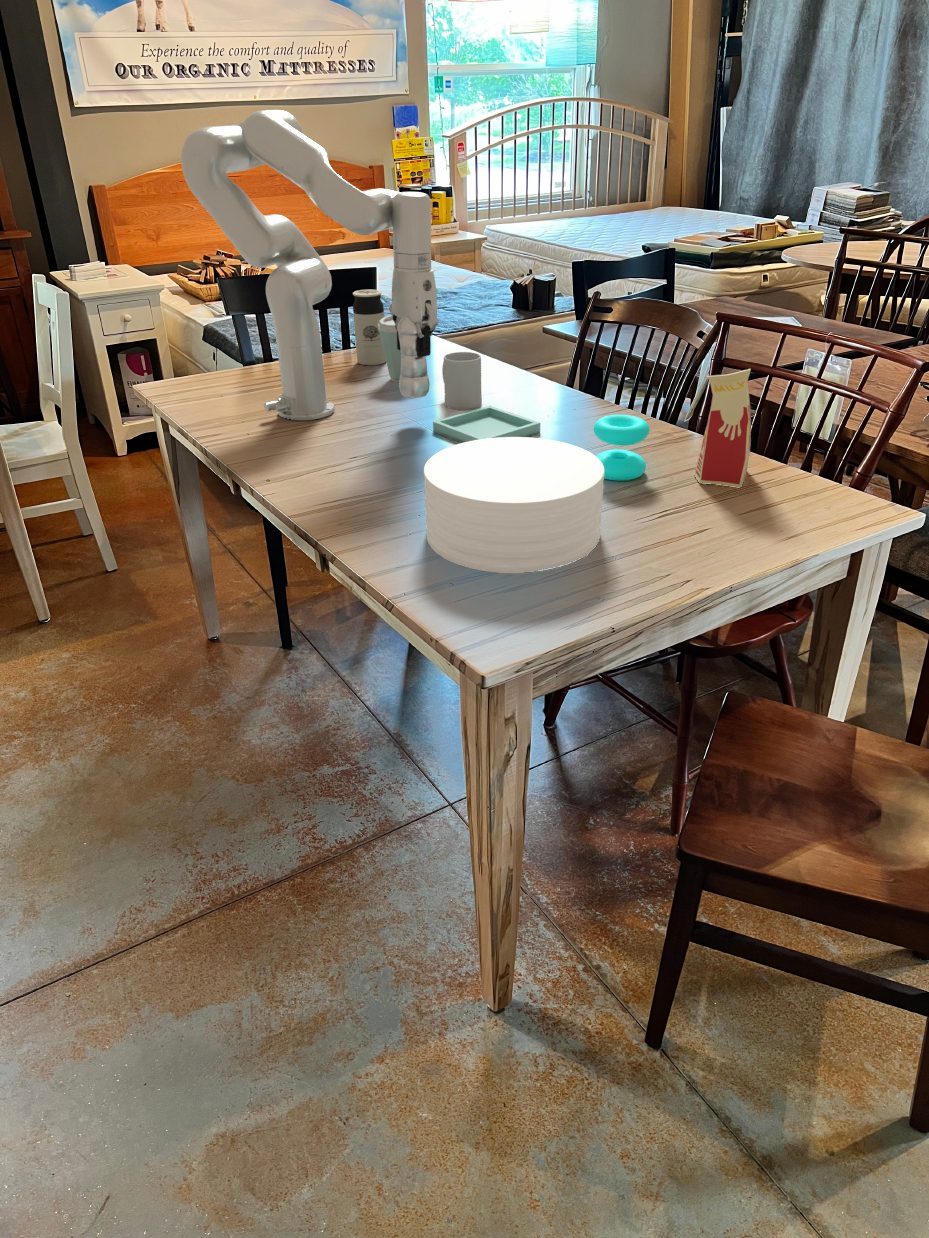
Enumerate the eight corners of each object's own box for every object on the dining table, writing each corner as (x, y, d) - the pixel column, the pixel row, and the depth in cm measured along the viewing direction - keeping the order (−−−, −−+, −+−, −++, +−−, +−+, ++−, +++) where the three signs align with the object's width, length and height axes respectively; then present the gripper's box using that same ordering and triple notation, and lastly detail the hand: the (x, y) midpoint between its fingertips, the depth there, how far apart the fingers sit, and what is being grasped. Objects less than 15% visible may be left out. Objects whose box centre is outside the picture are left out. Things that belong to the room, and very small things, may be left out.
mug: (489, 405, 199) (488, 357, 193) (458, 412, 195) (457, 363, 189) (459, 393, 207) (458, 347, 202) (429, 400, 203) (427, 352, 198)
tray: (482, 451, 173) (482, 440, 172) (433, 431, 184) (432, 421, 183) (540, 433, 182) (540, 422, 181) (489, 415, 193) (489, 405, 191)
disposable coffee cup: (422, 385, 214) (419, 322, 206) (378, 385, 214) (374, 323, 207) (424, 373, 223) (421, 312, 215) (382, 374, 223) (378, 313, 216)
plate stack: (468, 589, 125) (467, 516, 119) (402, 517, 147) (398, 452, 141) (633, 551, 134) (640, 482, 128) (548, 489, 156) (550, 427, 151)
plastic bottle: (436, 397, 187) (435, 300, 177) (413, 403, 183) (412, 305, 173) (415, 390, 191) (413, 295, 181) (392, 397, 187) (390, 300, 176)
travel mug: (360, 358, 237) (355, 289, 228) (389, 358, 236) (385, 289, 227) (354, 366, 230) (348, 295, 221) (384, 366, 230) (379, 295, 220)
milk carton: (746, 471, 162) (764, 363, 151) (743, 489, 154) (761, 377, 144) (696, 466, 164) (710, 359, 154) (691, 484, 157) (705, 373, 146)
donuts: (629, 409, 162) (661, 424, 155) (625, 460, 168) (656, 477, 160) (583, 417, 159) (614, 433, 151) (580, 469, 164) (610, 487, 156)
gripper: (454, 265, 169) (453, 358, 179) (401, 253, 180) (403, 341, 190) (423, 269, 165) (424, 364, 174) (372, 257, 176) (375, 346, 186)
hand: (413, 351), depth 182 cm, fingers closed on plastic bottle, 6 cm apart
